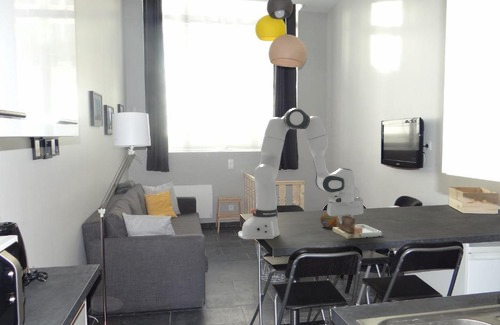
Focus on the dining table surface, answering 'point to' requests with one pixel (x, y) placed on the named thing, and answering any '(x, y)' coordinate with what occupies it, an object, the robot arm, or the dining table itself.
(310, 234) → the dining table surface
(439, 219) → the dining table surface
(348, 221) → the tall tan block
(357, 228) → the tile
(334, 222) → the tin
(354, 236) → the board
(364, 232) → the tray
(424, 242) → the dining table surface
